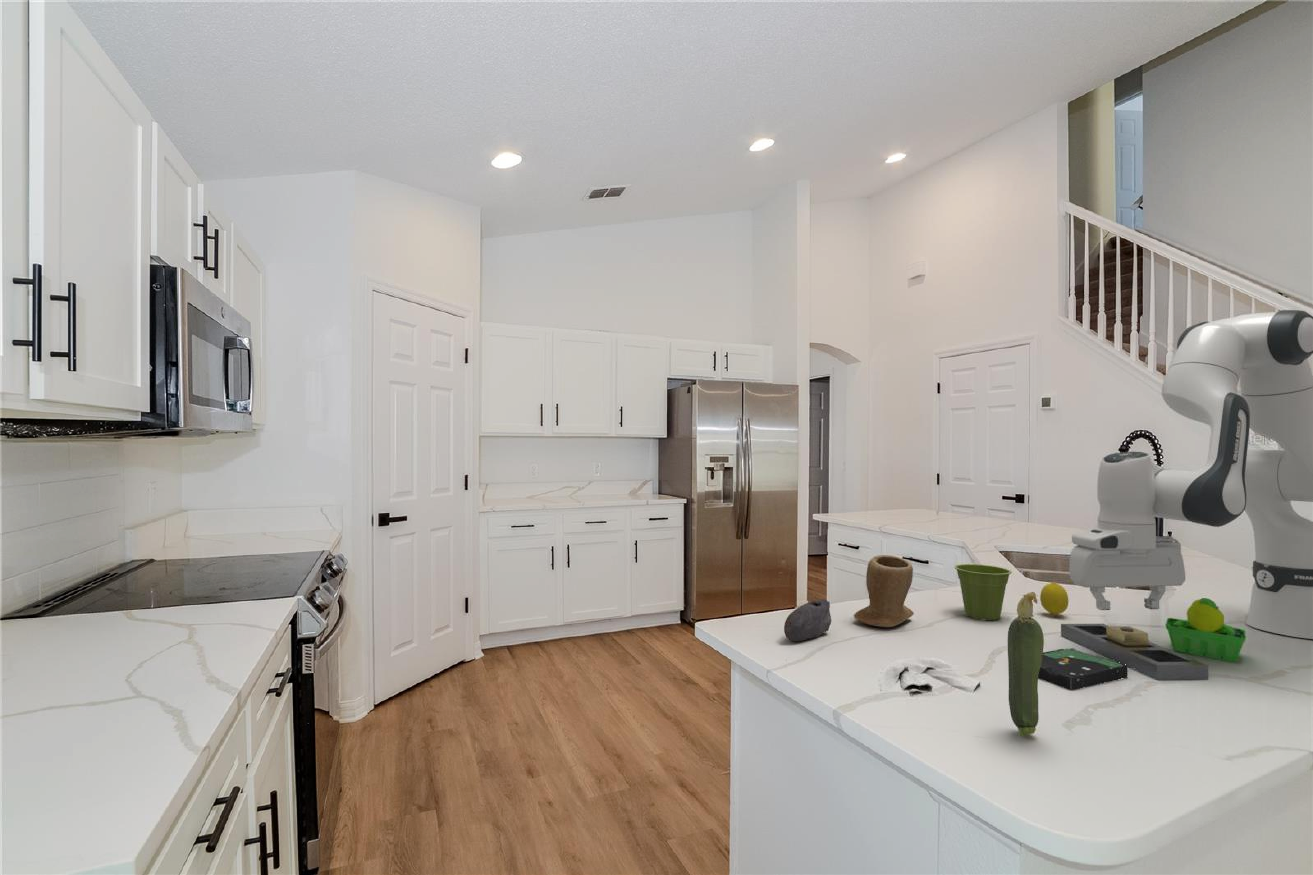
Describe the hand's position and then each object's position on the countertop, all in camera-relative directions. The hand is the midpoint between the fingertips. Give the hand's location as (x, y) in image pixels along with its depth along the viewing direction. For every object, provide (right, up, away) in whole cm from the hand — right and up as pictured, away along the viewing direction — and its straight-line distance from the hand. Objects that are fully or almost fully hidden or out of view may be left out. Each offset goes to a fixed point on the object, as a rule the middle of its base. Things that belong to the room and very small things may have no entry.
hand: (1127, 609), depth 117 cm
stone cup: (-38, -9, +21) cm, 44 cm away
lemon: (+3, -9, +26) cm, 28 cm away
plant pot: (-14, -9, +26) cm, 31 cm away
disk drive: (-17, -9, -9) cm, 22 cm away
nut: (0, -9, 0) cm, 9 cm away
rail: (0, -9, 0) cm, 9 cm away
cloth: (-44, -10, -13) cm, 47 cm away
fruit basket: (+15, -9, +1) cm, 18 cm away
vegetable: (-39, -9, -32) cm, 51 cm away
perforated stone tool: (-59, -9, +11) cm, 60 cm away
